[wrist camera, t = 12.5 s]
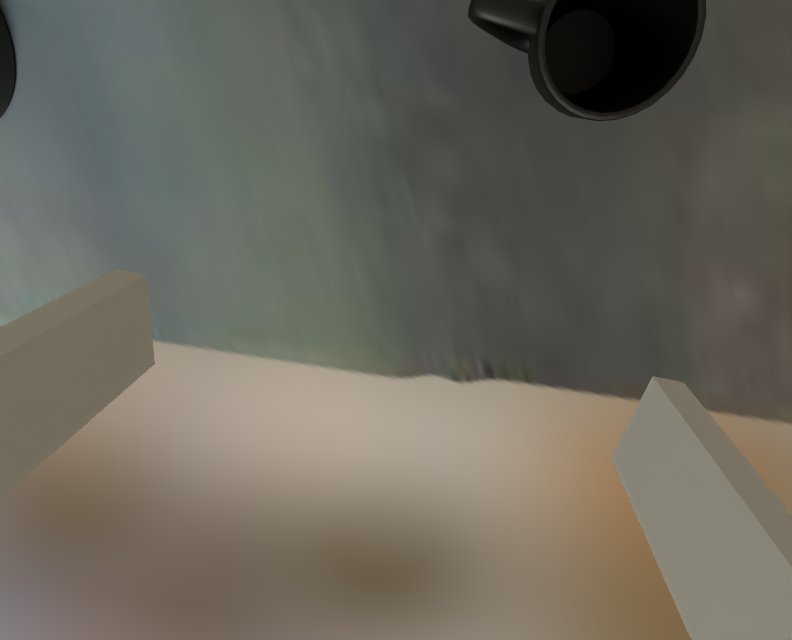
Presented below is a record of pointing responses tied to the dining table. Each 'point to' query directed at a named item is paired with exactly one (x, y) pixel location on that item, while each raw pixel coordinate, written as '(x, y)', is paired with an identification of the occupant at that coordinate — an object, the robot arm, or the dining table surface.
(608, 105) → the mug
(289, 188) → the dining table surface
